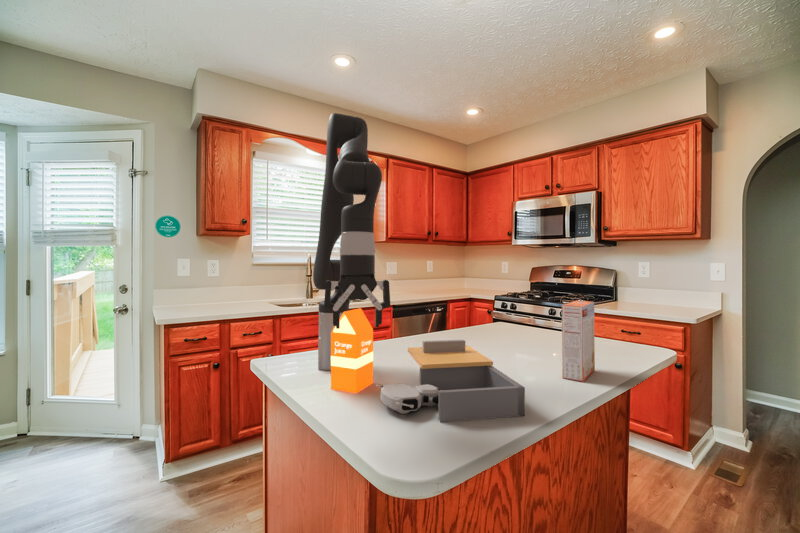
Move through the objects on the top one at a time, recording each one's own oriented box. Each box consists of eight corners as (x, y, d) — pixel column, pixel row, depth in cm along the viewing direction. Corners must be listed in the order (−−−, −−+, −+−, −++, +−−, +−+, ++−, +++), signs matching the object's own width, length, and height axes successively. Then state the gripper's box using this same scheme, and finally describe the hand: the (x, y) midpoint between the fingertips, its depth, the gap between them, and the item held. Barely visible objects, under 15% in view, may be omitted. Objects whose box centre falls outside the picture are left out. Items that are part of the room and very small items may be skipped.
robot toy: (429, 396, 92) (372, 401, 86) (430, 378, 92) (374, 381, 86) (456, 415, 80) (392, 422, 74) (457, 394, 80) (394, 399, 75)
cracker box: (573, 367, 114) (574, 300, 114) (595, 371, 110) (595, 301, 110) (560, 378, 103) (560, 303, 103) (583, 382, 99) (584, 305, 99)
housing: (440, 422, 75) (440, 392, 75) (419, 391, 93) (419, 367, 93) (524, 415, 78) (524, 387, 78) (489, 386, 96) (489, 364, 96)
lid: (422, 368, 90) (422, 352, 90) (407, 351, 109) (407, 337, 108) (493, 365, 94) (493, 349, 94) (467, 348, 112) (467, 335, 112)
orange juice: (330, 388, 94) (330, 311, 94) (349, 379, 102) (349, 307, 102) (356, 393, 91) (356, 312, 91) (373, 383, 99) (373, 308, 99)
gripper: (387, 254, 86) (387, 323, 86) (324, 253, 83) (324, 325, 83) (392, 253, 78) (392, 329, 78) (323, 252, 76) (323, 331, 76)
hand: (357, 327), depth 81 cm, fingers open, 8 cm apart
